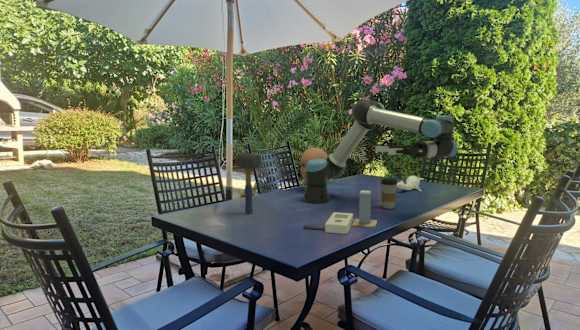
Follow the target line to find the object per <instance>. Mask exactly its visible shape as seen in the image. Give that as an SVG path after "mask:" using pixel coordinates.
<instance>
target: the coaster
mask: <svg viewBox="0 0 580 330" xmlns="http://www.w3.org/2000/svg"><path fill="white" fill-rule="evenodd" d="M377 223H378V220H377V219H376V220H375V219H370V224H360V223H359V218H353V222H352V225H351V227H362V228H373V229H376V226H377Z"/></svg>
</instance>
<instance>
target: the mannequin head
mask: <svg viewBox="0 0 580 330" xmlns="http://www.w3.org/2000/svg"><path fill="white" fill-rule="evenodd" d="M328 156H329V155H328V154H327V153H326V151H324V149H322V148H320V147H310V148H307V149H305V150H304V152H302V154H301V157H300V160H299V161H300V173H301V177H302V178H303V182H304V183H305V184H306V165H307V162H308V161H310V160H313V159H325V160H326V158H327V157H328Z"/></svg>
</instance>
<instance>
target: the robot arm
mask: <svg viewBox="0 0 580 330" xmlns="http://www.w3.org/2000/svg"><path fill="white" fill-rule="evenodd" d="M351 115H352V118H353V119H354V123H353V124H352V126H351V127H350V128H349V130H348V132H347V133H346V134H345V136H344V137H343V139H342V140H341V142H340V143H339V144H338V146H337V147H336V148H335V150H334V151H333V152H332V153H329V154H328V155H327V156H328V157H327V158H326V160H325V159H313V160H310V161H308V162H307V165H306V183H305V184H306V186H305V190H304V193H303V198H302V199H303V202H305V203H309V204H324V203H329V202H330V201H331V199H330V198H331V197H330V193H329V191H328V188H327V187H328V181H330V180H336V179H339V178H341V177H342V176H343V175H344V174H345V168H346V165H347V163H346V162H347V160H348V159H349V157H350V156H351V155H352V153H353V152H354V151H355V149H356V148H357V147H358V145H359V144H360V142H361V141H362V139H363V138H364V137H365V136H366V134H367V133H368V131H373V129H374V128H375V127H376V125H379V126H385V127H387V128H388V127H389V128H393V129H398V130H402V131H407V132H411V133H415V134H419V135H422V136H425V137H426V138H434V140H430V141H429V140H425V141H415V143H413V145H412V144H410V145H409V144H408V145H385V146H384V145H382V146H381V145H380V146H377V145H376V146H375V147H374V148H375V151H374V152H375V153H387V154H388V155H387V156H393V155H397V156H399V155H405V156H406V155H407V156H410V155H414V157H415V158H421V159H422V158H427V159H431V158H449V157H454V156H455V155H456V154H457V152H458V150H459V149H458V148H459V147H458V144H457V142H456V141H454V140H453V127H454V117H453V115H437V116H436V117H435V119H432V118H428V117H427V118H426V117H422V116H417V115H413V114H407V113H403V112H399V111H393V110H388V109H385V106H384V105H383V104H382V103H381V102H378V101H376V100H372V101H370V100H360V101H357V102H356V103H355V104H354V105H353V107H352V110H351Z"/></svg>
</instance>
